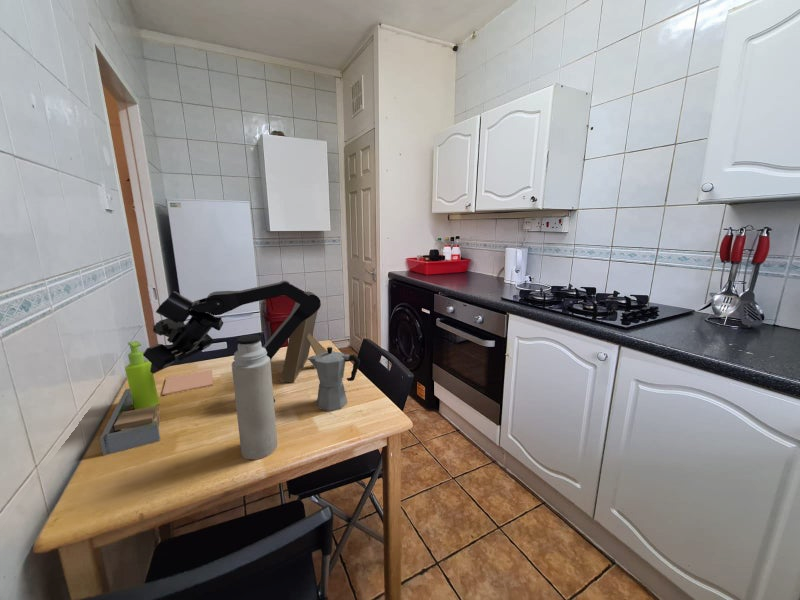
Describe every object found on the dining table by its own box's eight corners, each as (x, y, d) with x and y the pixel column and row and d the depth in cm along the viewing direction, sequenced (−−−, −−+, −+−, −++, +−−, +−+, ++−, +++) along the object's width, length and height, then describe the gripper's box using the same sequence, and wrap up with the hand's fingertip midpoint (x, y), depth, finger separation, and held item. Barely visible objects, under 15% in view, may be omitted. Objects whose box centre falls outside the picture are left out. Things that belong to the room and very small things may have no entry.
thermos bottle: (250, 438, 81) (238, 332, 75) (281, 437, 81) (273, 331, 75) (235, 460, 73) (221, 343, 67) (270, 459, 73) (259, 342, 68)
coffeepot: (306, 411, 93) (302, 353, 90) (314, 395, 102) (311, 342, 99) (359, 411, 93) (357, 353, 90) (362, 395, 102) (361, 342, 99)
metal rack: (159, 440, 80) (157, 424, 79) (103, 455, 74) (99, 438, 74) (170, 394, 103) (168, 381, 102) (127, 402, 98) (125, 389, 97)
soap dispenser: (138, 413, 91) (123, 346, 88) (132, 407, 96) (117, 343, 92) (163, 404, 96) (149, 340, 92) (155, 399, 100) (142, 337, 97)
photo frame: (281, 383, 111) (276, 313, 106) (297, 359, 132) (294, 300, 128) (324, 382, 112) (321, 313, 107) (333, 359, 133) (331, 300, 128)
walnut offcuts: (158, 431, 84) (155, 417, 83) (116, 442, 79) (113, 426, 79) (161, 416, 91) (159, 402, 90) (123, 425, 86) (120, 411, 86)
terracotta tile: (212, 385, 109) (212, 383, 109) (162, 395, 102) (162, 394, 102) (212, 371, 121) (211, 369, 121) (166, 379, 114) (166, 377, 114)
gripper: (198, 302, 97) (171, 336, 101) (143, 318, 79) (112, 358, 83) (225, 328, 98) (198, 360, 102) (176, 349, 80) (144, 388, 84)
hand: (166, 365), depth 92 cm, fingers open, 9 cm apart
